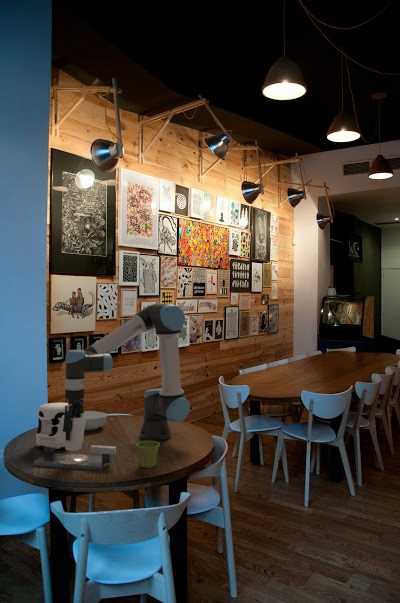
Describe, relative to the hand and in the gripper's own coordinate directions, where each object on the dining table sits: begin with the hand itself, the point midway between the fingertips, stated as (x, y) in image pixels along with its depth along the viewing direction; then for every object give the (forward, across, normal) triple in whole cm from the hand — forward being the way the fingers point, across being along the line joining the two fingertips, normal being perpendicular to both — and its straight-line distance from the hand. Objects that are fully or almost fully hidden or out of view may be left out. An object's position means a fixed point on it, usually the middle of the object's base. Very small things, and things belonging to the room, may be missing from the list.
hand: (73, 444), depth 198 cm
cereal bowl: (+8, +52, +12) cm, 54 cm away
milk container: (+8, +20, +16) cm, 27 cm away
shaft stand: (+8, 0, 0) cm, 8 cm away
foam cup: (+2, 0, 0) cm, 2 cm away
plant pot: (+8, +3, -30) cm, 31 cm away
